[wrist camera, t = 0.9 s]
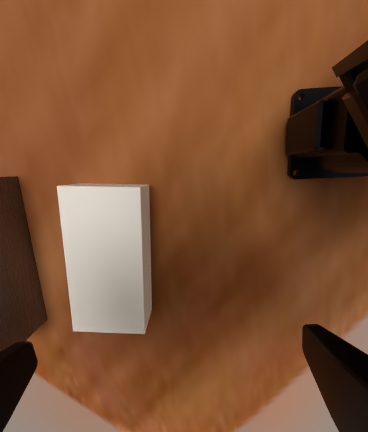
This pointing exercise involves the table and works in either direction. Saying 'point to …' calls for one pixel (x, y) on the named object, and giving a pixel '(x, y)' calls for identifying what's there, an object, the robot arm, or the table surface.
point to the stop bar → (17, 270)
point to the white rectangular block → (107, 256)
